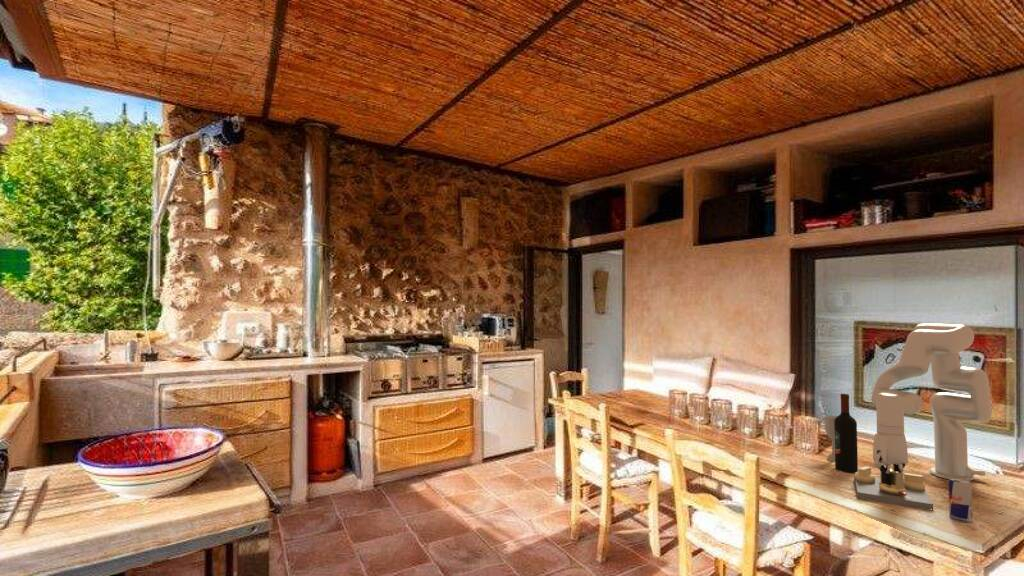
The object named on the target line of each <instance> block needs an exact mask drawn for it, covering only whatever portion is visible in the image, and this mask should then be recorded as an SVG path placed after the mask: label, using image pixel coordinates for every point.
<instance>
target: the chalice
mask: <svg viewBox="0 0 1024 576" xmlns="http://www.w3.org/2000/svg"><path fill="white" fill-rule="evenodd" d="M837 416H838V415H823V416H822V418H823V419H824V431H825V433H826V434H827V437H828V438H829V439H831V444H830V445H831V447H830V449H831V453H829V454H828V456H827V458H826V460H828V461H830V462H834V463H835V433H834V420H835V418H836V417H837Z"/></svg>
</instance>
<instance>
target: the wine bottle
mask: <svg viewBox="0 0 1024 576" xmlns="http://www.w3.org/2000/svg"><path fill="white" fill-rule="evenodd" d="M836 416H837V417H836V418H835V420H834V433H835V462H834V465H835V467H834V468H835V470H837V471H838V472H842V473H847V474H855V472H858V468H859V463H858V461H859V460H858V455H859V453H858V423H857V420H856V419H855V418H854V417H853V416H851V415H850V394H848V393H840V414H839V415H836Z"/></svg>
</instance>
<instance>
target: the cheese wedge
mask: <svg viewBox="0 0 1024 576" xmlns="http://www.w3.org/2000/svg"><path fill="white" fill-rule="evenodd" d="M885 468H886V466H885ZM879 473H880V477H879V478H880V480H881V471H880V470H879ZM890 474H891V477H892V485H890V486H889V485H887V484H884V483H882V482H879V489H880V490H881V491H882V492H885V493H888V494H893V495H903V496H907V493H905V487H904V486H903V479H904V473H903V472H901V473H900V472H897V471H895V470H894V469H893V468H890Z"/></svg>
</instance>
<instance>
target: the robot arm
mask: <svg viewBox="0 0 1024 576" xmlns="http://www.w3.org/2000/svg"><path fill="white" fill-rule="evenodd" d="M974 339H975V333H974V331H973V329H972V328H971V327H970V326H969V325H966V324H952V323H951V324H950V323H920V324H917V325H915V326H914V328H913V331H911V332H910V333H908V336H907V337H906V339H905V344H904V346H903V349H902V352H901V354H900V358H899V361H898V363H897V364H894V365H893V366H891V367H890V368H888V369H886V370H885V371H884V372H882V373H881V374H880V375H879V377H878V378H877V380H876V382H875V384H874V387H873V391H872V394H871V401H872V404H873V405H874V407H876V432H875V434H874V439H873V446H872V459H873V465H874V466H875V467H876V468H878V470H879V472H880V471H881V482H882V483H884V484H887V485H889V486H890V485H892V477H891V474H890V469H891V467H892V469H893V470H895V471H897V472H900V473H904V469H905V467H906V465H907V464H909V459H908V446H907V445H908V444H907V439H906V434H905V415H915V414H918V413H919V412H921V411H922V409H923V406H924V401H923V399H922V397H921V396H920V395H919V394H917V393H915V392H910V391H904V390H898V389H891V387H892V386H893V385H894V384H897V383H899V382H901V381H905V380H910V379H913V378H917V377H922V376H923V375H925V374H927V373H928V371H929V368H930V365H931V373H932V374H931V376H932V381H933V384H934V386H935V387H936V388H938V389H941V390H944V391H952V392H953V393H952V392H936V393H934V394H933V395H931V397H930V399H929V406H930V411H931V413H932V419H933V429H934V430H933V438H934V440H933V441H934V467H931V468H930V469H929V471H930V474H932V475H933V476H936V477H939V478H942V479H946V480H949V478H951V477H955V478H962V479H966V480H969V481H970V482H971V481H973V480H974V479H975V475H976V476H980V477H982V476H983V477H985V476H986V471H985V470H982V469H979V468H971V467H970V465H969V462H968V461H969V459H968V432H967V429H966V427H965V426H964V425H963V423H962V422H961V421H966V422H970V423H971V422H973V423H979V424H985V423H988V422H989V421H990V419H991V418H992V414H993V413H992V412H993V411H992V410H993V408H992V400H991V399H992V398H991V389H990V380H989V376H988V374H987V373H986V372H985V371H984V370H983V369H981V368H978V367H971V366H970V367H969V366H963V365H962V364H961V360H960V359H961V357H960V352H963V351H964V350H966V349H969V348H970V347H971V346H972V344H973V343H974ZM954 392H960V393H961V394H960V393H954ZM962 393H968V394H969V395H967V394H962ZM891 465H892V466H891ZM885 467H886V468H885Z"/></svg>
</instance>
